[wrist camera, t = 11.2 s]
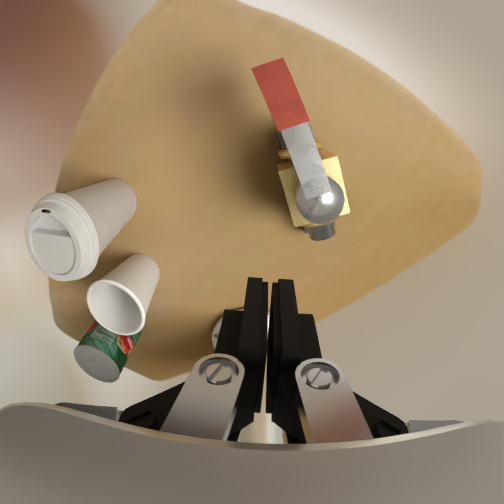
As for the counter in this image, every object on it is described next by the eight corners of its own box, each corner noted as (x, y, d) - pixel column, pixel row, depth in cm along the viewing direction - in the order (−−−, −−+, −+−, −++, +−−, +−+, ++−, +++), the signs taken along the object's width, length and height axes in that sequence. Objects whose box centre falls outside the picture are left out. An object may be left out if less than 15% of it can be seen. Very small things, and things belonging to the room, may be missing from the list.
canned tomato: (149, 338, 47) (127, 385, 38) (113, 338, 48) (88, 380, 39) (132, 301, 44) (104, 346, 34) (96, 303, 45) (65, 344, 35)
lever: (290, 59, 22) (292, 54, 20) (345, 209, 28) (350, 215, 26) (244, 75, 23) (242, 71, 21) (303, 223, 28) (305, 230, 27)
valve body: (341, 220, 37) (358, 247, 29) (297, 232, 38) (303, 262, 30) (316, 121, 31) (330, 121, 24) (267, 134, 32) (267, 137, 25)
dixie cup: (178, 286, 42) (156, 329, 33) (135, 300, 44) (109, 340, 35) (150, 237, 39) (119, 272, 30) (108, 256, 41) (74, 290, 32)
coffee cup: (157, 185, 36) (97, 226, 22) (134, 244, 40) (81, 304, 26) (100, 156, 34) (25, 183, 21) (82, 215, 38) (18, 261, 25)
